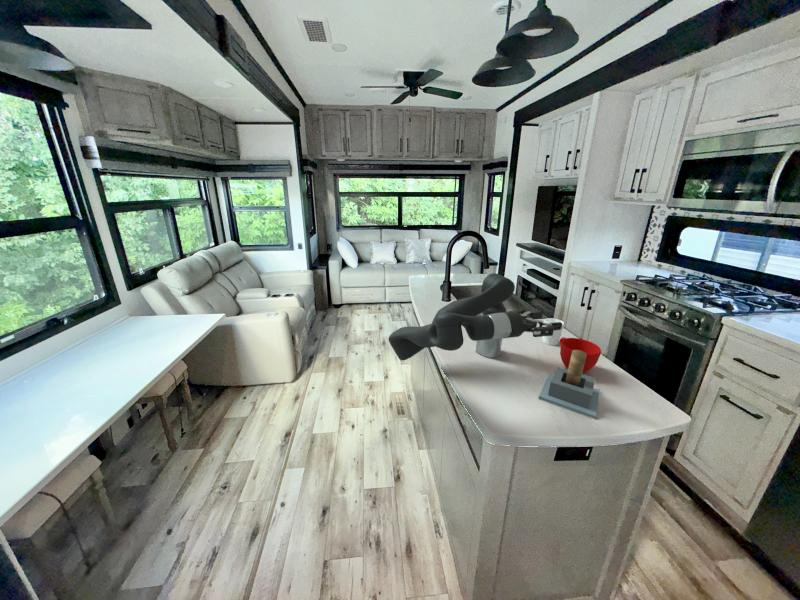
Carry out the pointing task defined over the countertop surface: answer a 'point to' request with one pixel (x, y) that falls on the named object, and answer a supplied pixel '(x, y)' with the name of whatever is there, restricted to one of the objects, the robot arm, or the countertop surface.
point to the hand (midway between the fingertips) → (551, 320)
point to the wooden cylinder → (576, 367)
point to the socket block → (571, 393)
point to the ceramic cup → (583, 345)
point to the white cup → (556, 333)
